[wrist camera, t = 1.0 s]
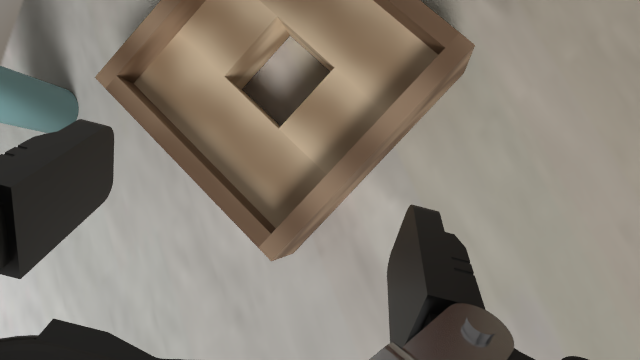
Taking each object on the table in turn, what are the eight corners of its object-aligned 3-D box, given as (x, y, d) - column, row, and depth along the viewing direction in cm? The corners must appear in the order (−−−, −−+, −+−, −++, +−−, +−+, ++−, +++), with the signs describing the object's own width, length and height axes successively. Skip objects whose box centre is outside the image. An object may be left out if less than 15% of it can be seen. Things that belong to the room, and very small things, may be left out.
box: (288, -74, 36) (267, -124, 30) (463, 72, 32) (475, 45, 27) (140, 96, 37) (94, 77, 32) (293, 253, 34) (271, 261, 28)
